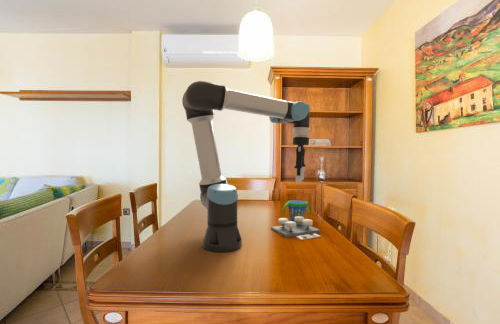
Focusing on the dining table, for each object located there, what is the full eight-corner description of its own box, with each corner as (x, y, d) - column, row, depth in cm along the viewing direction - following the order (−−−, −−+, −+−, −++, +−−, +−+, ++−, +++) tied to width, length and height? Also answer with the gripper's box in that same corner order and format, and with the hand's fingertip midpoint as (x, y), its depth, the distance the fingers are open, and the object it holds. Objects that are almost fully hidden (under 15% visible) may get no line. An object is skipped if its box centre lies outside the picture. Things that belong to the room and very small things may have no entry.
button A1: (289, 232, 122) (289, 224, 121) (283, 229, 126) (283, 221, 126) (298, 230, 124) (298, 223, 123) (292, 228, 128) (292, 220, 128)
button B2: (298, 226, 131) (298, 218, 131) (292, 223, 135) (292, 216, 135) (306, 224, 133) (306, 217, 133) (300, 222, 137) (300, 215, 137)
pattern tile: (301, 240, 117) (301, 238, 117) (295, 237, 120) (295, 235, 120) (320, 237, 121) (320, 235, 121) (314, 234, 124) (314, 232, 124)
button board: (286, 237, 120) (286, 234, 120) (271, 229, 132) (271, 226, 132) (319, 232, 127) (319, 229, 127) (302, 225, 139) (302, 222, 139)
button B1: (306, 229, 125) (306, 222, 125) (300, 227, 130) (300, 219, 129) (314, 228, 127) (314, 221, 127) (308, 225, 132) (308, 218, 131)
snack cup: (308, 218, 154) (308, 199, 153) (315, 223, 143) (315, 203, 143) (280, 218, 152) (280, 200, 151) (285, 224, 141) (285, 204, 141)
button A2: (281, 228, 127) (281, 220, 127) (276, 225, 132) (276, 218, 131) (290, 227, 129) (290, 219, 129) (284, 224, 134) (284, 217, 133)
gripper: (307, 135, 120) (306, 184, 121) (310, 138, 145) (309, 178, 145) (290, 135, 122) (288, 183, 123) (295, 137, 146) (294, 178, 147)
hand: (299, 181), depth 134 cm, fingers open, 13 cm apart
